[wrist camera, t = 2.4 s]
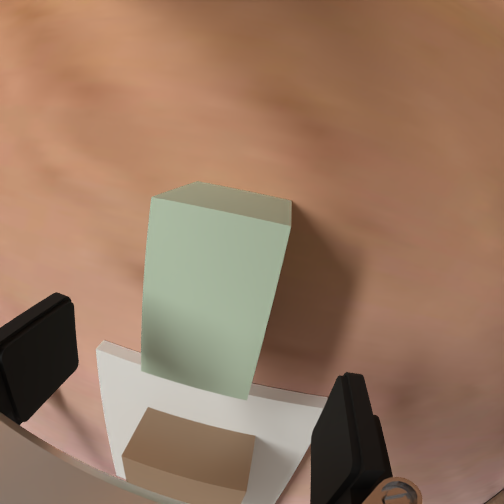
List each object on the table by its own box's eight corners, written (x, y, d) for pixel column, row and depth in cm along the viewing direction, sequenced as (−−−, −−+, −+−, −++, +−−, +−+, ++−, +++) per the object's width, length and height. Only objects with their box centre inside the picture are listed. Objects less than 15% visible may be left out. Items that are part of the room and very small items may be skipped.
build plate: (103, 340, 21) (57, 392, 15) (327, 397, 20) (333, 469, 14) (120, 467, 26) (99, 509, 21) (267, 507, 26) (261, 554, 20)
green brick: (198, 181, 17) (151, 197, 11) (291, 200, 16) (291, 226, 11) (180, 312, 19) (141, 371, 14) (260, 332, 19) (246, 400, 13)
